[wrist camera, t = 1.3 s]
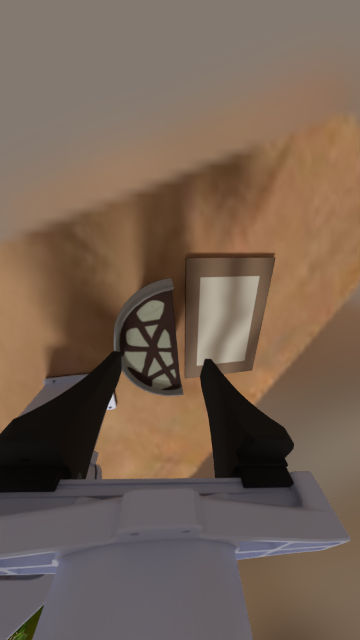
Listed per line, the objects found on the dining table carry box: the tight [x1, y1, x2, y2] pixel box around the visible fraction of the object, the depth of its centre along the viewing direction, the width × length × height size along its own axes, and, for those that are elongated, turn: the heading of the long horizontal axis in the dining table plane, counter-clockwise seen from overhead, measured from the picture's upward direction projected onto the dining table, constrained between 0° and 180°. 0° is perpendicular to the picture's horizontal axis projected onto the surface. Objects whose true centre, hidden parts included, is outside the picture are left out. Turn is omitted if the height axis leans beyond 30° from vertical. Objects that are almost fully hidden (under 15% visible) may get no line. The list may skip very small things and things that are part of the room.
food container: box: [114, 278, 184, 396], centre depth 18 cm, size 12×6×10 cm, turn 4°
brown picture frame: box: [185, 258, 275, 378], centre depth 25 cm, size 13×20×1 cm, turn 0°
